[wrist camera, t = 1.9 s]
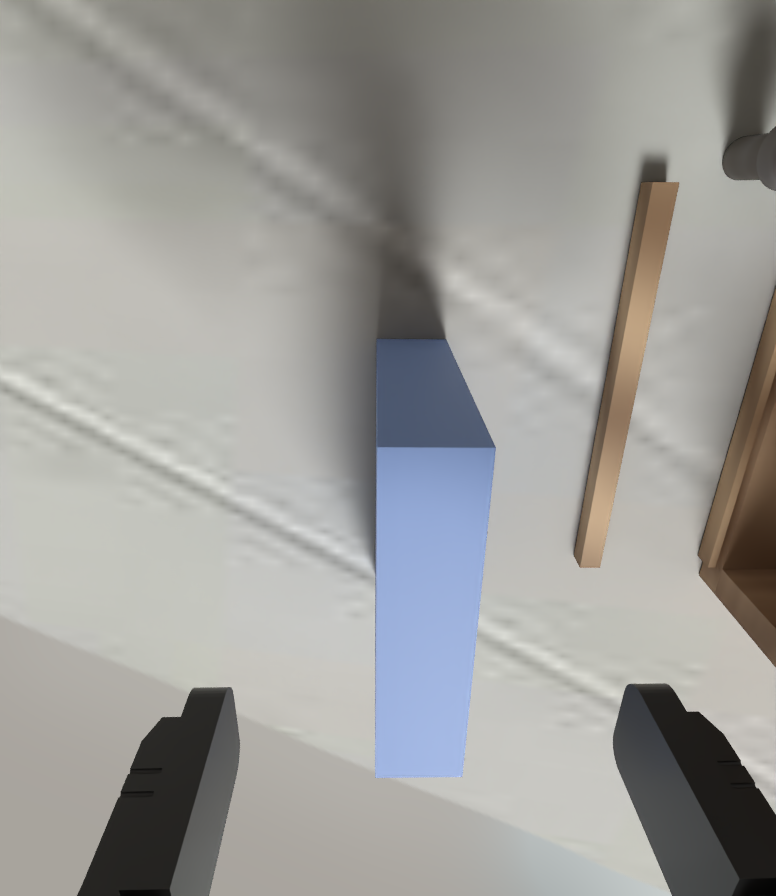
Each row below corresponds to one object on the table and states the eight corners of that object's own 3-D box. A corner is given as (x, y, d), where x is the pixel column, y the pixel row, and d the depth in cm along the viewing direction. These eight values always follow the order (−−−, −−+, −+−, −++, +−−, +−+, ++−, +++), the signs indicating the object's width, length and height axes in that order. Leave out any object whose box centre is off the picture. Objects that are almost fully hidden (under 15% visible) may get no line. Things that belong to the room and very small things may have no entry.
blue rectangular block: (376, 338, 20) (377, 447, 11) (446, 339, 20) (495, 448, 11) (375, 574, 24) (375, 777, 16) (432, 574, 24) (462, 776, 16)
